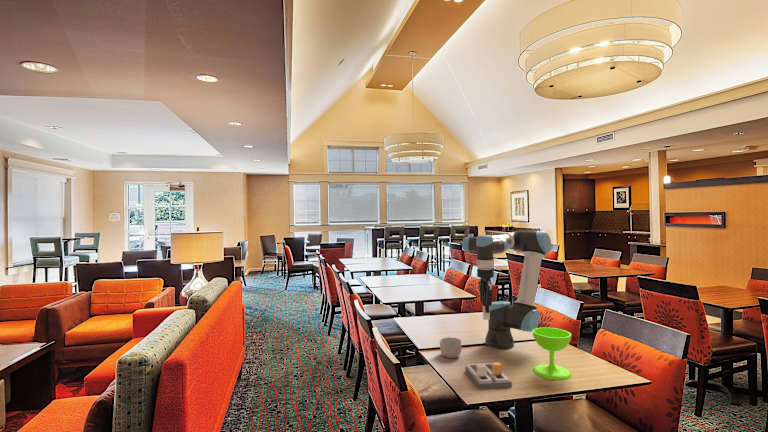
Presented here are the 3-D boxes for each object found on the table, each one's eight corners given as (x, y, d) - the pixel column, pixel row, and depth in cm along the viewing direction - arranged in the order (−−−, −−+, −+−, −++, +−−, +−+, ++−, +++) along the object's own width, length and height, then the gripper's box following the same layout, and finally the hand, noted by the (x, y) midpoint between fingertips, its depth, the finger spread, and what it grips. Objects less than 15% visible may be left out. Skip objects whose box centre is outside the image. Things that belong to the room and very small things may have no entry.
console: (495, 369, 179) (495, 362, 179) (511, 386, 161) (511, 379, 161) (465, 371, 177) (465, 364, 177) (478, 388, 159) (478, 380, 159)
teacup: (461, 360, 190) (461, 344, 190) (439, 359, 192) (438, 343, 192) (461, 351, 204) (461, 335, 204) (440, 349, 206) (440, 334, 206)
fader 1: (484, 376, 166) (484, 363, 166) (486, 378, 163) (486, 366, 163) (476, 376, 166) (476, 363, 166) (479, 379, 163) (479, 366, 163)
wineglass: (527, 365, 183) (527, 327, 183) (562, 365, 183) (562, 327, 183) (540, 380, 167) (540, 338, 167) (578, 380, 167) (578, 338, 167)
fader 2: (499, 374, 168) (499, 362, 168) (502, 377, 165) (501, 364, 165) (492, 374, 167) (491, 362, 167) (494, 377, 164) (494, 365, 164)
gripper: (472, 266, 187) (473, 315, 188) (482, 271, 174) (483, 323, 175) (487, 266, 188) (488, 314, 189) (498, 270, 175) (499, 322, 176)
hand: (486, 319), depth 182 cm, fingers closed
